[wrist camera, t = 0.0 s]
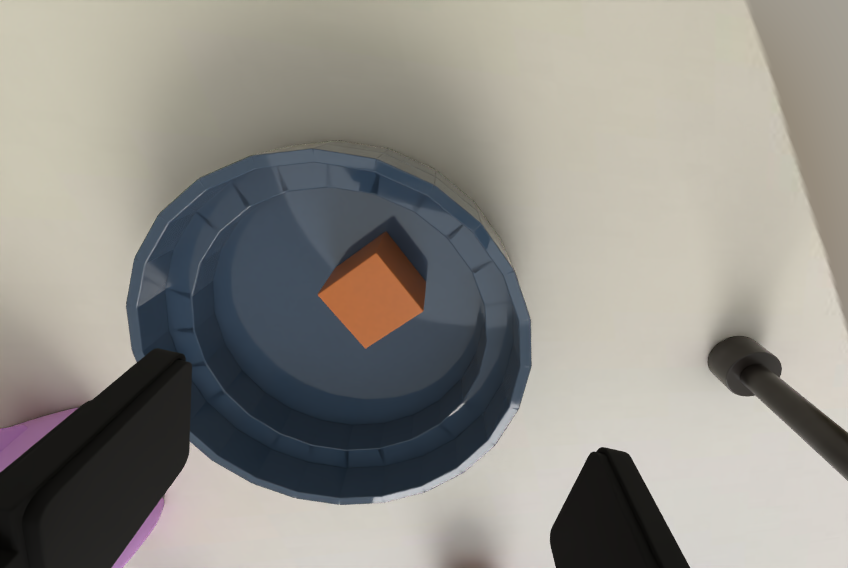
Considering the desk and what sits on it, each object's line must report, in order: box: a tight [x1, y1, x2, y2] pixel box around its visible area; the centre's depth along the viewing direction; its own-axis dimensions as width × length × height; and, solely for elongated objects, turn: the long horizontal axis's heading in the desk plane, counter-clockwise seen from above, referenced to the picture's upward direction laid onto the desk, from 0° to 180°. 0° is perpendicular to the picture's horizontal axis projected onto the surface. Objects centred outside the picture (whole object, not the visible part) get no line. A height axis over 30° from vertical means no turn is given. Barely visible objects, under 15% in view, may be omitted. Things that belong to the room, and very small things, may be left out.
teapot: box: [0, 407, 164, 568], centre depth 29 cm, size 18×10×10 cm, turn 19°
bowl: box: [126, 140, 532, 505], centre depth 25 cm, size 21×21×6 cm
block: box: [318, 232, 426, 348], centre depth 24 cm, size 4×4×4 cm
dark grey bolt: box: [708, 336, 848, 481], centre depth 21 cm, size 3×3×14 cm
